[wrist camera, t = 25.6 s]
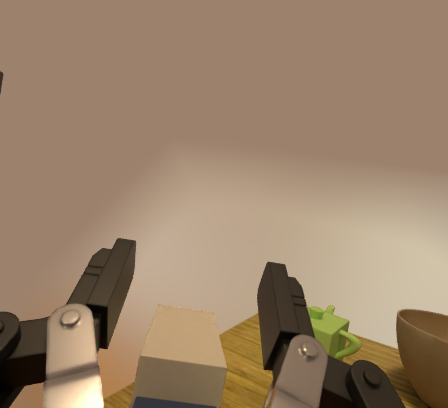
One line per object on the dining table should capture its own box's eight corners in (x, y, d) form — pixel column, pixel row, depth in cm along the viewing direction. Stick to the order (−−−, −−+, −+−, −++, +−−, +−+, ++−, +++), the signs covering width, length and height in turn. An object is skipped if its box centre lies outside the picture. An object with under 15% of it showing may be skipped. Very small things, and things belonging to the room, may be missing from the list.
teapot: (324, 352, 63) (334, 299, 63) (370, 395, 50) (382, 328, 50) (251, 347, 60) (261, 291, 60) (280, 392, 47) (293, 321, 47)
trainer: (225, 710, 9) (260, 496, 9) (49, 702, 8) (93, 479, 9) (201, 379, 27) (213, 312, 27) (145, 372, 26) (158, 304, 27)
